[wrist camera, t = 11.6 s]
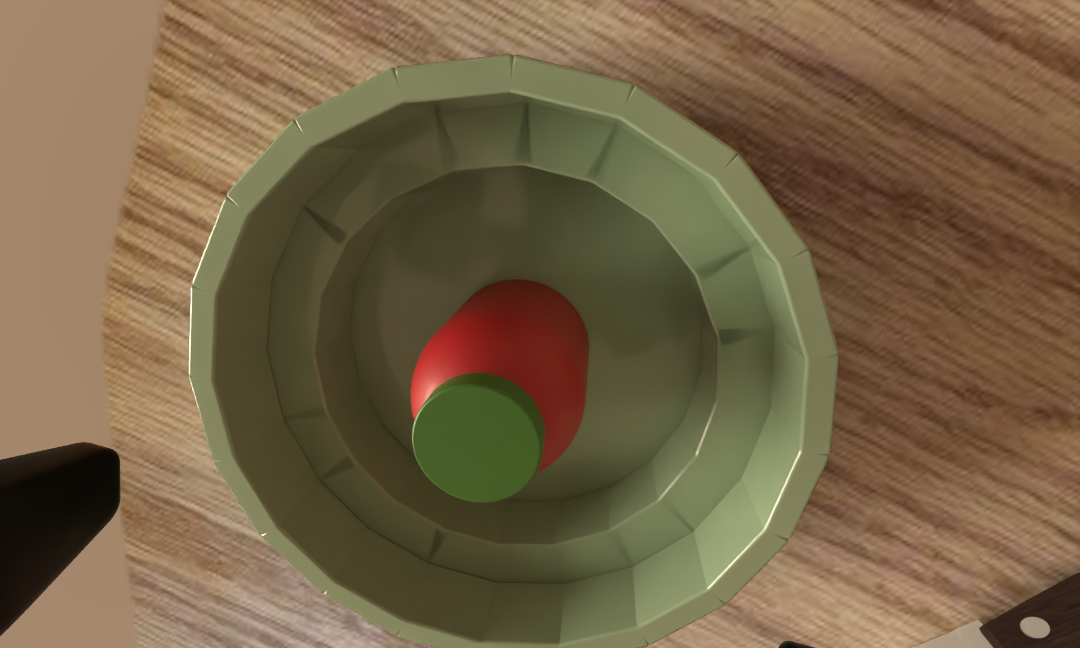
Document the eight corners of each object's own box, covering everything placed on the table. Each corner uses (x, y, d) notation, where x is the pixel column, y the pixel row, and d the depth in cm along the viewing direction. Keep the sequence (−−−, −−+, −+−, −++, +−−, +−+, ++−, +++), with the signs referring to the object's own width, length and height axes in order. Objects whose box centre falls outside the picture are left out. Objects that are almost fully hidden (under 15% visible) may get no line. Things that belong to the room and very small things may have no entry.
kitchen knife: (1375, 438, 13) (1503, 485, 11) (1388, 466, 14) (1515, 517, 12) (735, 702, 18) (751, 766, 16) (750, 721, 18) (767, 786, 16)
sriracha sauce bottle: (440, 390, 15) (360, 504, 10) (465, 262, 14) (389, 321, 9) (569, 424, 15) (553, 558, 10) (605, 299, 14) (607, 379, 9)
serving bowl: (284, 474, 17) (181, 576, 13) (327, 34, 13) (196, -25, 9) (677, 582, 17) (702, 725, 13) (848, 162, 13) (971, 164, 9)
